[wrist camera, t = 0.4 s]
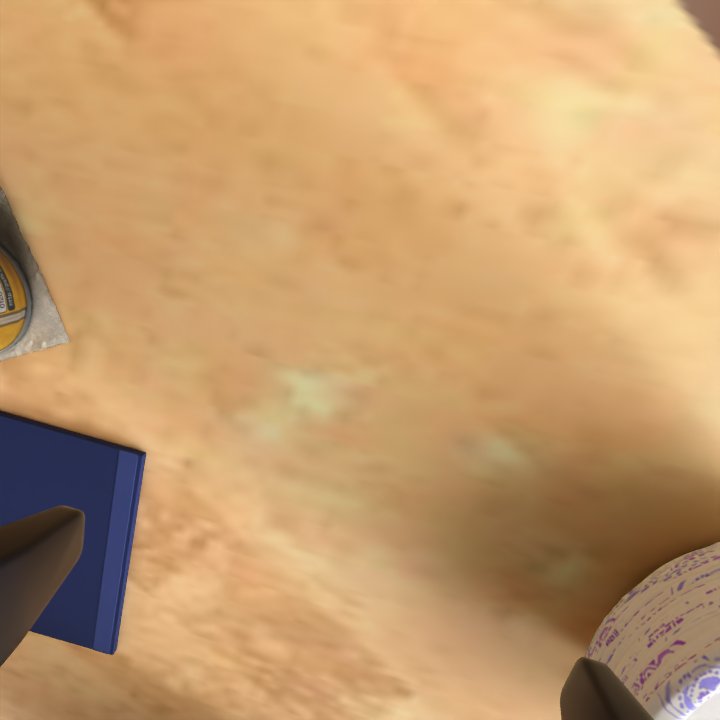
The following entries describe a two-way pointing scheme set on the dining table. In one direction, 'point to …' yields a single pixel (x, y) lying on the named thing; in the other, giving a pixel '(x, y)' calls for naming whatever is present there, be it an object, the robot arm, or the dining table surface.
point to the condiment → (23, 295)
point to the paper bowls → (669, 638)
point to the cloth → (102, 520)
